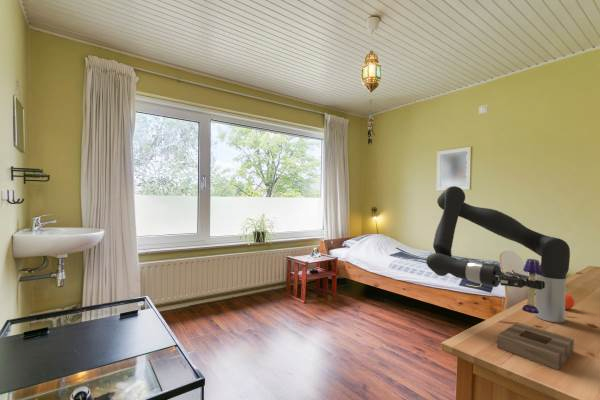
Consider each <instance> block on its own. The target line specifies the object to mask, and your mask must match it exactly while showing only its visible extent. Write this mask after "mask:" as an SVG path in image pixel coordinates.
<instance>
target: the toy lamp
mask: <svg viewBox="0 0 600 400" xmlns="http://www.w3.org/2000/svg"><path fill="white" fill-rule="evenodd" d="M540 265H541V262H540V261H539V259H535V258H527V259H526V261H525V263H524V266H523V269H522V271H523V272H525V273H528V276H529V280H532V281H536V274H541V273H542V271H541V267H540ZM527 289H528V291H527V301H526V304H525V305H523V306H522V308H521V309H522V311H524V312H526V313H530V314H534V315H535V314H538V313H539V311H538V309H537V308H536V307H535V306H534V305H535V302H534V301H535V297H536V289H534V288H530V287H527Z"/></svg>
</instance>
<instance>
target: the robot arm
mask: <svg viewBox="0 0 600 400" xmlns="http://www.w3.org/2000/svg"><path fill="white" fill-rule="evenodd" d="M465 201H466V194H465V192H464V190H463V189H462V188H461V187H459V186H456V185H455V186H453V185H452V186H449V187H447V188H446V189H444V190H443V192H441V194H440V195H439V196H438V198H437V201H436V202H437V205H438V207H439V208H440V209H442V210H443V212H442V215H441V218H440V221H439V223H438V224H437V228H436V231H435V234H434V239H433V243H432V246H433V250H434V251H435V252H433V253H431V254H429V255H428V256H427V257H426V259H425V260H426V261H425V262H426V266H427V267H428V268H429V269H430V270H431V271H432V272H433V273H435V274H436V275H437V276H438V277H439V276H440V277H445V276H447V275H448V274H450V275H451V276H453V277H455V278H458V279H462V280H466V281H470V282H473V283H475V284H481V285H483V286H490V287H493V288H497V287H498V286H500V285H501V286H502V287H503V286H505V287H514V288H522V289H523V288H528V287H530V288H534V289H535V303H534V305H535V307H536V308H537V309H538V311H539V313H538V314H535V313H534V316H535V317H536V318H538V319H540V320H544V321H547V322H551V323H557V324H560V323H563V324H564V323H565V320H566V319H565V318H566V316H565V315H566V309H565V294H567V292H566V290H567V289H566V286H567V284H566V282H567V274H568V272H569V270H570V258H571V249H570V245H569V244H568V243H567V241H565V240H564V239H562V238H559V237H554V236H549V235H545V234H542V233H540V232H537V231H534V230H532V229H530V228H528V227H526V225H524V224H523V223H521V222H519V221H518V220H517V219H516V218H513V217H512V216H510V215H509V214H506V213H503V212H501V211H500V210H496V209H493V208H486V207H479V206H474V205H471V204H469V203H466V202H465ZM459 218H462V219H465V220H467V221H469V222H471V223H473V224H475V225H477V226H479V227H481V228H484V229H485V230H487V231H489V232H491V233H494V234H495V235H497V236H498V237H499V236H500V237H501V238H505V239H507V240H508V241H509V240H510V241H512V242H515V243H517V244H520V245H522V246H523V247H525V248H527V249H528V250H530V251H532V252H533V253H535V254H537V255H538V256H539V257H541V259H540V267H541V271H542V273H541V274H536V277H535V279H536V281H532V280H529V277H530V276H529V275H524V274H521V273H517V272H512V271H511V272H510V271H505V272H502V269H501V267H500V266H499V265H497V264H491V263H487V262H486V263H485V262H482V261H481V262H480V261H471V260H464V259H459V258H456V257H453V256H452V248H453V242H454V237H455V232H456V227H457V224H458V223H457V222H458V219H459Z"/></svg>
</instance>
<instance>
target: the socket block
mask: <svg viewBox="0 0 600 400" xmlns="http://www.w3.org/2000/svg"><path fill="white" fill-rule="evenodd" d="M574 339H575V338H571V337H568V336H565V335H561V334H558V333H555V332H551V331H548V330H545V329H541V328H538V327H534V326H530V325H527V324H524V323H520V322H516V323H514V324H512V325H511V326H509V327H507V328H506V329H504V330H503V331H501V332H499V333H498V334H497V337H496V348H497V349H499V350H502V351H506V352H508V353H510V354H514V355H516V356H520V357H521V358H523V359H527V360H530V361H533V362H536V363H538V364H540V365H543V366H546V367H548V368H551V369H554V370H559V369H560V368H561V367H562V366H563V364H565V362H566V361H567V360H568V359H569V358H570V357H571V356H572V354H573V353H574V350H575V349H574V348H575V346H574V345H575V344H574V343H575V340H574Z"/></svg>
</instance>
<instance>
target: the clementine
mask: <svg viewBox="0 0 600 400" xmlns="http://www.w3.org/2000/svg"><path fill="white" fill-rule="evenodd" d="M573 306H575V300H574V298H573V296H571V295H569V294H568V293H566V294H565V310H569V309H571V308H573Z"/></svg>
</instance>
